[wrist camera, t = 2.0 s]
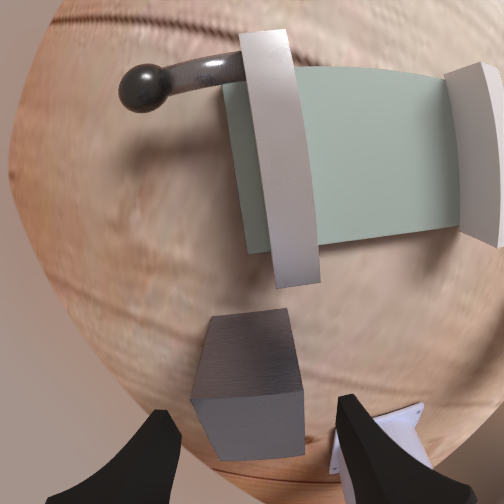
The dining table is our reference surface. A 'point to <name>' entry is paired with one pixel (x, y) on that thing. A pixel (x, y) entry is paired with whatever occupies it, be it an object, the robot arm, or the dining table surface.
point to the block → (251, 387)
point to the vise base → (387, 153)
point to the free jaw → (266, 137)
